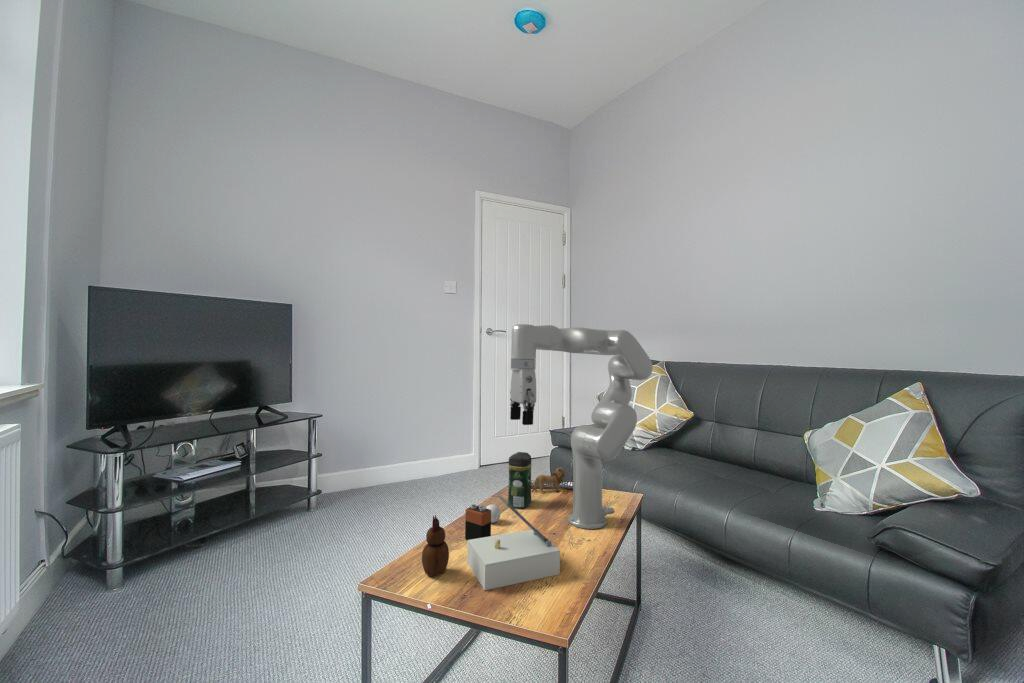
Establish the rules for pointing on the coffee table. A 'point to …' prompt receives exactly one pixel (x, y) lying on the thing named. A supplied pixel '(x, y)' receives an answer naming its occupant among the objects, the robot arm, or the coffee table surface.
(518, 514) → the clasp strap
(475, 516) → the battery
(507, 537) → the keepsake box
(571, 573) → the coffee table surface
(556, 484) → the lion figurine
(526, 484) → the coffee jar
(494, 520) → the seamed sphere
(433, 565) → the wooden figurine
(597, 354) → the robot arm
